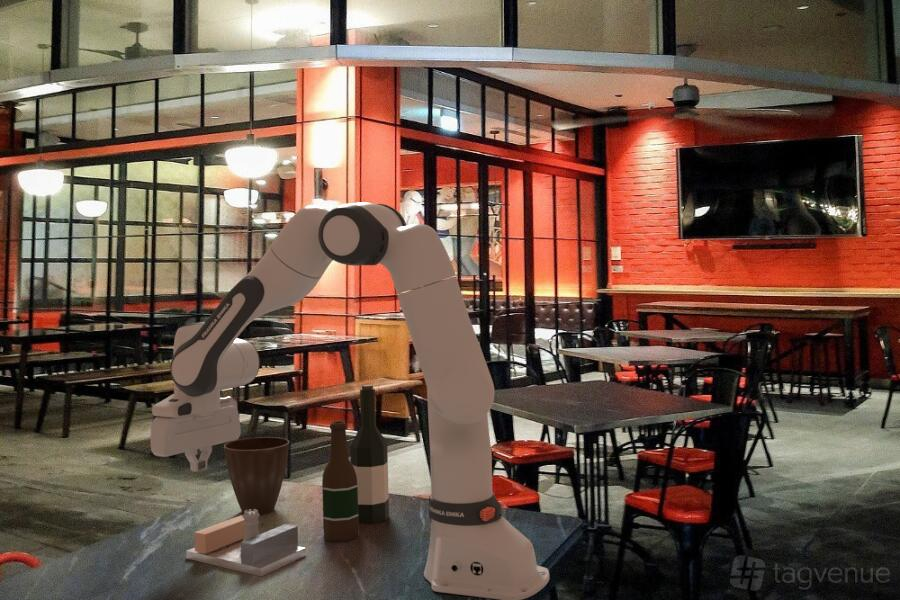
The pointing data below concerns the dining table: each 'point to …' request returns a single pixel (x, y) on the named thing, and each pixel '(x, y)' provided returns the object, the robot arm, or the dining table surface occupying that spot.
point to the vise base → (235, 559)
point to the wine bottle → (370, 463)
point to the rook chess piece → (251, 524)
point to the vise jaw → (219, 535)
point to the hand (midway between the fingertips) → (198, 469)
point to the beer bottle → (339, 490)
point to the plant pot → (257, 471)
